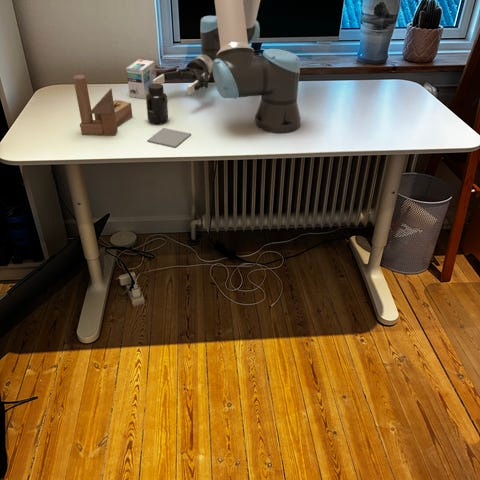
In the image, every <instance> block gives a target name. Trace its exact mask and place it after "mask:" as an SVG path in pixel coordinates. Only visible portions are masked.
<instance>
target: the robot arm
mask: <svg viewBox="0 0 480 480" xmlns="http://www.w3.org/2000/svg"><path fill="white" fill-rule="evenodd" d="M260 3H261V0H214V6H215V8H214V9H215V15H205V16H203V17H201V19H200V30H199V32H200V43H201V44H200V55H198V56H197V57H195V58H193V59H192V60H190V61H188V63H187V65H186V67H183V68H180V66H179V65H177V66H174V67H172V68H168V69H164V70H160V71H157V72H156V78H155V79H154V80H153V84H154V83H159V84H162V85H163V84H164V83H165V81H173V80H191V81H194V82H192V83H191V84H189V85H188V86H187V95H192V94H193V93H195V92H196V91H199V90H200V89H203V88H204V89H209V80H210V79H211V74H212V75H213V81H214V84H215V87H216V90H217V92H218V94H219V95H220V96H221V97H222V98H224V99H238V98H246V97H249V98H250V97H261V99H260V102H259V104H258V108H257V110H256V112H255V116H254V124H255V126H256V127H257V128H258V129H259V130H262V131H264V132H268V133H274V134H275V133H276V134H282V133H283V134H286V133H290V132H294V131H297V130H298V129H299V128H300V126H301V117H302V116H301V114H300V110H299V104H298V95H299V93H298V91H299V81H300V73H301V69H300V68H301V61H300V60H301V59H300V58H299V56H298V55H297V54H295V53H294V52H291V51H288V50H283V49H278V48H268V49H264V50H263V52H262V56H256V55H255V49H254V48H253V47H251V45H249V43H252V42H257V41H258V40H259V39H260V33H261V30H260V29H261V28H260V23H259V21H258V20H257V17H258V11H259V8H260ZM203 80H204V81H203Z"/></svg>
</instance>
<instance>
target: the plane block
mask: <svg viewBox="0 0 480 480" xmlns="http://www.w3.org/2000/svg"><path fill="white" fill-rule="evenodd" d="M113 102H114V109H115V110H114V111H115V117H116V124H117V128H118V127H120V126H121V125H123V124H124V123H126V122H127V121H128V120H130V119H132V118H133V116H134V115H133V109H132V102H129V101H124V100H118V99H115V100H113ZM94 120H100V121H101V122H102V118H101V114H94Z"/></svg>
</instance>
